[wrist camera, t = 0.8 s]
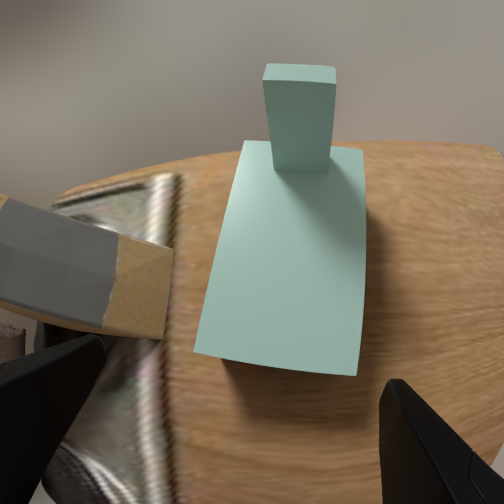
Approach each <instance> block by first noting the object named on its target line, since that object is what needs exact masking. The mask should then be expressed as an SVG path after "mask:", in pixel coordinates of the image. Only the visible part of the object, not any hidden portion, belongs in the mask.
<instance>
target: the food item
mask: <svg viewBox="0 0 504 504" xmlns="http://www.w3.org/2000/svg"><path fill="white" fill-rule="evenodd" d="M25 330H26V329H23V328H22V329H20V328H15V327H13V325H9V324H5V323H1V324H0V364H1V363H4V362H7V361H10V360H13V359H16V358H20V357H23V356H25V336H26V333H25V332H26V331H25Z"/></svg>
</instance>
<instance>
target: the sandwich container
mask: <svg viewBox="0 0 504 504" xmlns="http://www.w3.org/2000/svg"><path fill="white" fill-rule="evenodd" d="M173 252H174V251H173V249H171V248H168V247H164V246H161V245H157V244H154V243H150V242H147V241H143V240H140V239H137V238H133V237H130V236H127V235H123V234H120V233H117V232H113V231H110V230H107V229H104V228H100V227H97V226H94V225H91V224H87V223H84V222H81V221H78V220H75V219H72V218H69V217H66V216H63V215H60V214H58V213H55V212H52V211H49V210H45V209H42V208H39V207H36V206H33V205H30V204H27V203H25V202H22V201H19V200H16V199H13V198H10V197H8V196H5V195H2V194H0V307H1V308H3V309H6V310H8V311H11V312H14V313H17V314H19V315H22V316H25V317H28V318H32V319H35V320H38V321H41V322H44V323H48V324H52V325H56V326H60V327H64V328H68V329H73V330H77V331H81V332H90V333H97V334H105V335H114V336H123V337H133V338H145V339H157V340H162V338H163V335H164V327H165V320H166V312H167V306H168V299H169V292H170V281H171V271H172V261H173Z"/></svg>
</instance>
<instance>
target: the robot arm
mask: <svg viewBox="0 0 504 504" xmlns="http://www.w3.org/2000/svg"><path fill="white" fill-rule="evenodd" d="M106 360H107V355H106V352H105V349H104V345H103V342H102V339H101V338H100V337H99V336H96V335H93V334H88V335H85V336H82V337H79V338H76V339H73V340H70V341H68V342H65V343H62V344H59V345H56V346H53V347H50V348H47V349H44V350H41V351H38V352H35V353H32V354H29V355H26V356H23V357H20V358H16V359H13V360H10V361H7V362H4V363H1V364H0V503H1V504H28V503H29V502H30V499H31V498H32V496H33V494H34V492H35V489H36V488H37V486H38V484H39V482H40V480H41V478H42V476H43V474H44V472H45V470H46V469H47V467H48V465H49V463H50V461H51V459H52V458H53V456H54V454H55V452H56V451H57V449H58V447H59V445H60V444H61V442H62V440H63V438H64V437H65V435H66V433H67V431H68V430H69V428H70V426H71V425H72V423H73V421H74V420H75V418H76V416H77V415H78V413H79V411H80V410H81V408H82V407H83V405H84V403H85V402H86V400H87V398H88V397H89V395H90V393H91V391H92V389H93V387H94V385H95V383H96V381H97V379H98V377H99V375H100V373H101V371H102V369H103V367H104V365H105V363H106ZM472 451H473V450H472V449H471V447H470V446H469V445H468V444H467V443H466V442H465V441H464V440H463V439H462V438H461V437H460V436H459V435H458V434H457V433H456V432H455V431H454V430H453V429H452V428H451V427H450V426H449V425H448V424H447V423H446V422H445V421H444V420H443V419H442V418H441V417H440V416H439V415H438V414H437V413H436V412H435V411H434V410H433V409H432V408H431V407H430V406H429V405H428V404H427V403H426V402H425V401H424V400H423V399H422V398H421V397H420V396H419V395H418V394H417V393H416V392H415V391H414V390H413V389H412V388H411V387H410V386H409V385H408V384H407V383H406V382H405V381H404V380H403V379H389V380H388V381H387V383H386V386H385V388H384V391H383V393H382V396H381V398H380V402H379V456H380V467H381V480H382V497H383V504H504V479H503V478H502V477H501V476H500V475H498V474H497V473H496V472H495V471H494V470H493V469H492V468H491V467H490V466H488V465H487V464H486V463H485V462H484V461H483V460H482V459H481V458H480V457H479V456H478V455H477V454H476V453H475V452H474V451H473V452H472Z"/></svg>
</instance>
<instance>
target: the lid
mask: <svg viewBox="0 0 504 504" xmlns="http://www.w3.org/2000/svg"><path fill="white" fill-rule="evenodd" d="M262 81H263V88H264V96H265V103H266V110H267V118H268V126H269V134H270V141H246V140H245V141H244V145H243V149H242V152H241V156H240V159H239V163H238V167H237V170H236V174H235V178H234V182H233V185H232V189H231V193H230V197H229V201H228V205H227V208H226V212H225V216H224V220H223V224H222V228H221V232H220V236H219V240H218V245H217V249H216V253H215V257H214V261H213V265H212V270H211V274H210V278H209V283H208V287H207V291H206V296H205V300H204V305H203V309H202V314H201V318H200V323H199V327H198V332H197V337H196V342H195V346H194V351H193V352H195V353H199V354H204V355H209V356H213V357H218V358H223V359H228V360H234V361H239V362H245V363H251V364H256V365H263V366H269V367H276V368H283V369H290V370H298V371H307V372H316V373H325V374H337V375H349V376H356V375H357V367H358V360H359V351H360V342H361V333H362V322H363V309H364V293H365V272H366V197H365V176H364V161H363V150H361V149H353V148H345V147H336V146H331V140H332V130H333V120H334V108H335V95H336V73H335V67H330V66H318V65H303V64H302V65H301V64H267V66H266V70H265V73H264V76H263V80H262Z"/></svg>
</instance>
